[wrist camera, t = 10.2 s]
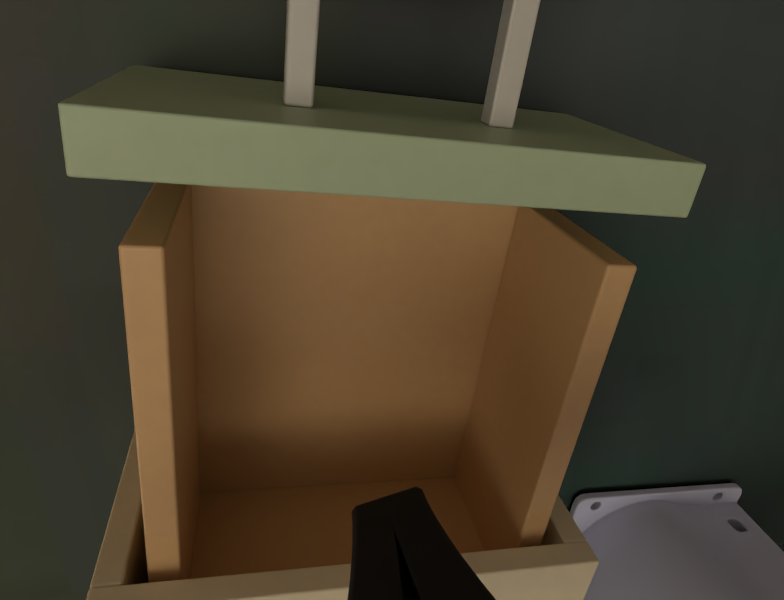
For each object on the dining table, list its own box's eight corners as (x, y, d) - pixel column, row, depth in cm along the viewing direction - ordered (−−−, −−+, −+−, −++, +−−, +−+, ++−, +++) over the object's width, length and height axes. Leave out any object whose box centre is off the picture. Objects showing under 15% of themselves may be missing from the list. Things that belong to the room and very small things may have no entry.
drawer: (118, -135, 12) (13, -239, 7) (606, -41, 15) (794, -65, 10) (161, 488, 21) (127, 661, 15) (475, 470, 24) (540, 609, 18)
